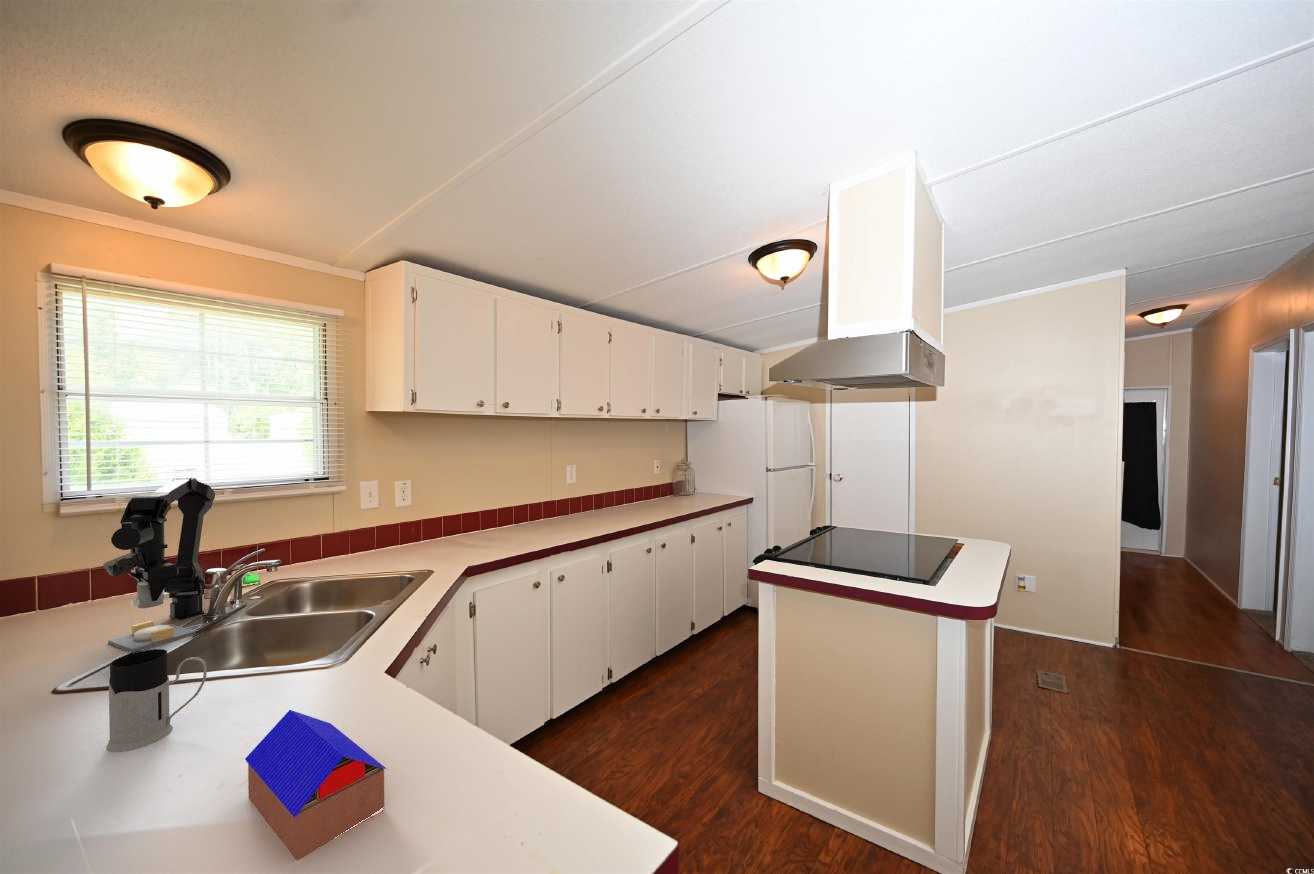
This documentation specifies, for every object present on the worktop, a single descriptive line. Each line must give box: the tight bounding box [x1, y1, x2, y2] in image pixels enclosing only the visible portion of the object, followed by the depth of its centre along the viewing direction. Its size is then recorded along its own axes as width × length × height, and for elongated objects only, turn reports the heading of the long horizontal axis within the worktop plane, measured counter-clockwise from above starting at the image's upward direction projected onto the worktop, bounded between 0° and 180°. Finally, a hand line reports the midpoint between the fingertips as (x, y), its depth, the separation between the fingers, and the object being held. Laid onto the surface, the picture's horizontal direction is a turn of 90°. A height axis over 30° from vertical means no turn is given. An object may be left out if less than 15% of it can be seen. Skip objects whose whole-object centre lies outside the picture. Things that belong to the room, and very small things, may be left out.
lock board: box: [107, 620, 196, 653], centre depth 140 cm, size 13×13×4 cm
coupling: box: [130, 581, 170, 609], centre depth 139 cm, size 7×5×6 cm
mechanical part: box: [243, 573, 260, 584], centre depth 191 cm, size 12×6×8 cm, turn 40°
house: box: [244, 709, 388, 861], centre depth 78 cm, size 12×20×12 cm, turn 53°
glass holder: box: [105, 648, 208, 753], centre depth 96 cm, size 9×14×15 cm, turn 112°
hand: (150, 599), depth 139 cm, fingers closed on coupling, 5 cm apart
